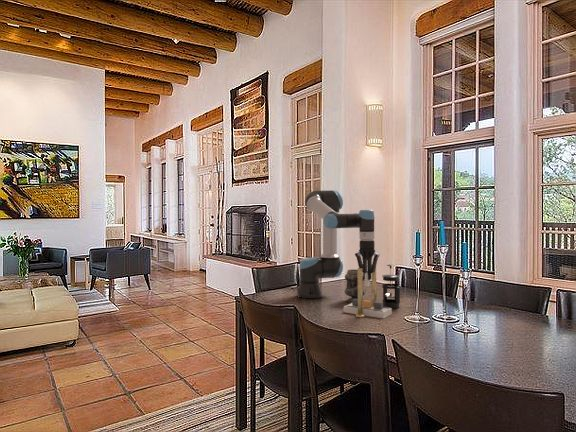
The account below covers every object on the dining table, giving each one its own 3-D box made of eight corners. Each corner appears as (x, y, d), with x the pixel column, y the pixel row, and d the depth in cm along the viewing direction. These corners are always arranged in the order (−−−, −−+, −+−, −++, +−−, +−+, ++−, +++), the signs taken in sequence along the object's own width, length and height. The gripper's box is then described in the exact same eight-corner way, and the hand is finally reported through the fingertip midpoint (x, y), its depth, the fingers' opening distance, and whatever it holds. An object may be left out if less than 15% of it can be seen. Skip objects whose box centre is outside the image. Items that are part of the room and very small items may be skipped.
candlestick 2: (368, 310, 220) (368, 264, 220) (372, 308, 224) (371, 263, 223) (376, 311, 218) (375, 265, 217) (379, 309, 221) (379, 264, 221)
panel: (343, 312, 217) (343, 305, 217) (352, 308, 225) (352, 301, 225) (383, 318, 204) (383, 311, 204) (391, 314, 212) (391, 307, 212)
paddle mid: (362, 306, 214) (362, 300, 214) (364, 305, 216) (364, 300, 216) (369, 307, 212) (369, 301, 212) (372, 306, 214) (372, 300, 214)
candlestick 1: (354, 316, 207) (353, 268, 207) (358, 314, 211) (358, 267, 210) (362, 318, 205) (361, 269, 204) (366, 316, 208) (366, 268, 208)
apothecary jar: (364, 298, 247) (364, 268, 247) (366, 303, 235) (366, 271, 235) (344, 298, 248) (343, 268, 248) (344, 303, 236) (344, 271, 236)
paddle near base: (352, 305, 218) (352, 299, 218) (354, 304, 220) (354, 298, 220) (359, 306, 216) (359, 300, 215) (361, 305, 217) (361, 299, 217)
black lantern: (377, 305, 230) (377, 264, 229) (391, 303, 234) (391, 262, 233) (391, 310, 219) (391, 266, 219) (405, 308, 223) (405, 265, 223)
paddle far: (373, 308, 211) (373, 302, 211) (375, 307, 213) (375, 301, 213) (381, 309, 208) (381, 303, 208) (383, 308, 210) (382, 302, 210)
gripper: (352, 240, 214) (352, 285, 215) (375, 240, 206) (376, 288, 207) (358, 239, 220) (359, 283, 221) (381, 239, 212) (382, 286, 213)
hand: (367, 286), depth 214 cm, fingers closed
